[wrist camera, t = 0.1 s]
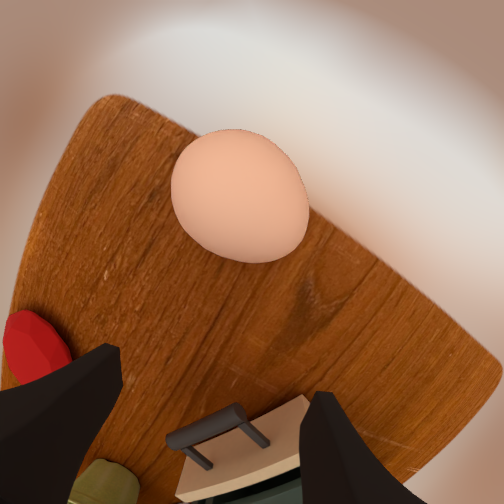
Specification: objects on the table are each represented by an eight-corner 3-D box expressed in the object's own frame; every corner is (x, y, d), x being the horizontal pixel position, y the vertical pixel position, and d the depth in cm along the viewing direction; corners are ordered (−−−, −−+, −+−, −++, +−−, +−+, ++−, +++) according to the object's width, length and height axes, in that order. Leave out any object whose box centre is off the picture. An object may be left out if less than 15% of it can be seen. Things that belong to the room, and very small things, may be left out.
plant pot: (71, 459, 24) (40, 503, 16) (99, 436, 23) (63, 491, 14) (130, 502, 25) (110, 548, 16) (169, 486, 24) (150, 544, 15)
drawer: (155, 417, 21) (132, 464, 15) (269, 355, 20) (271, 406, 14) (270, 506, 23) (270, 547, 17) (368, 465, 21) (383, 507, 15)
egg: (205, 91, 11) (349, 214, 12) (236, 110, 17) (332, 192, 18) (123, 208, 13) (247, 315, 14) (175, 189, 20) (263, 264, 20)
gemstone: (98, 391, 21) (82, 409, 18) (41, 394, 22) (25, 407, 19) (55, 297, 20) (33, 307, 18) (5, 315, 21) (-14, 324, 18)
